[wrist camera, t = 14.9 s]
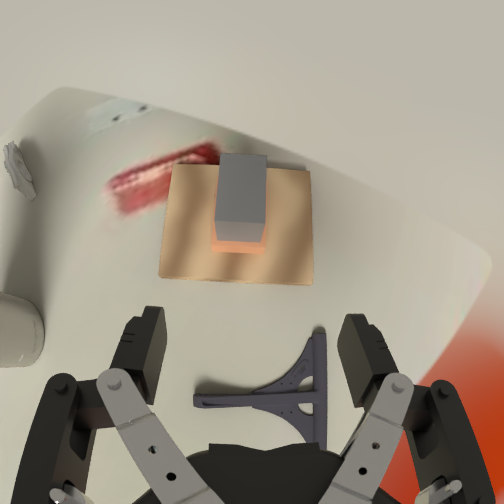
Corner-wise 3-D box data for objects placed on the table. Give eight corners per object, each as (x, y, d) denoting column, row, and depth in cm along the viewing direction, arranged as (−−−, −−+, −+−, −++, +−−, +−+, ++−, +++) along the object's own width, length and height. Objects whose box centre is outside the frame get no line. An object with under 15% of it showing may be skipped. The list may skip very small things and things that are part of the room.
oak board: (161, 278, 35) (158, 275, 33) (175, 170, 39) (173, 164, 37) (309, 285, 36) (313, 282, 34) (307, 177, 39) (309, 171, 38)
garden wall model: (14, 155, 38) (-4, 137, 33) (21, 148, 39) (4, 129, 33) (31, 203, 36) (9, 185, 31) (39, 195, 37) (19, 177, 31)
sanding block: (212, 251, 34) (206, 225, 27) (218, 186, 36) (214, 148, 29) (263, 254, 35) (272, 229, 27) (265, 189, 37) (273, 151, 29)
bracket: (194, 336, 34) (190, 336, 31) (324, 333, 35) (331, 332, 32) (197, 453, 30) (195, 462, 27) (324, 447, 31) (330, 455, 28)
